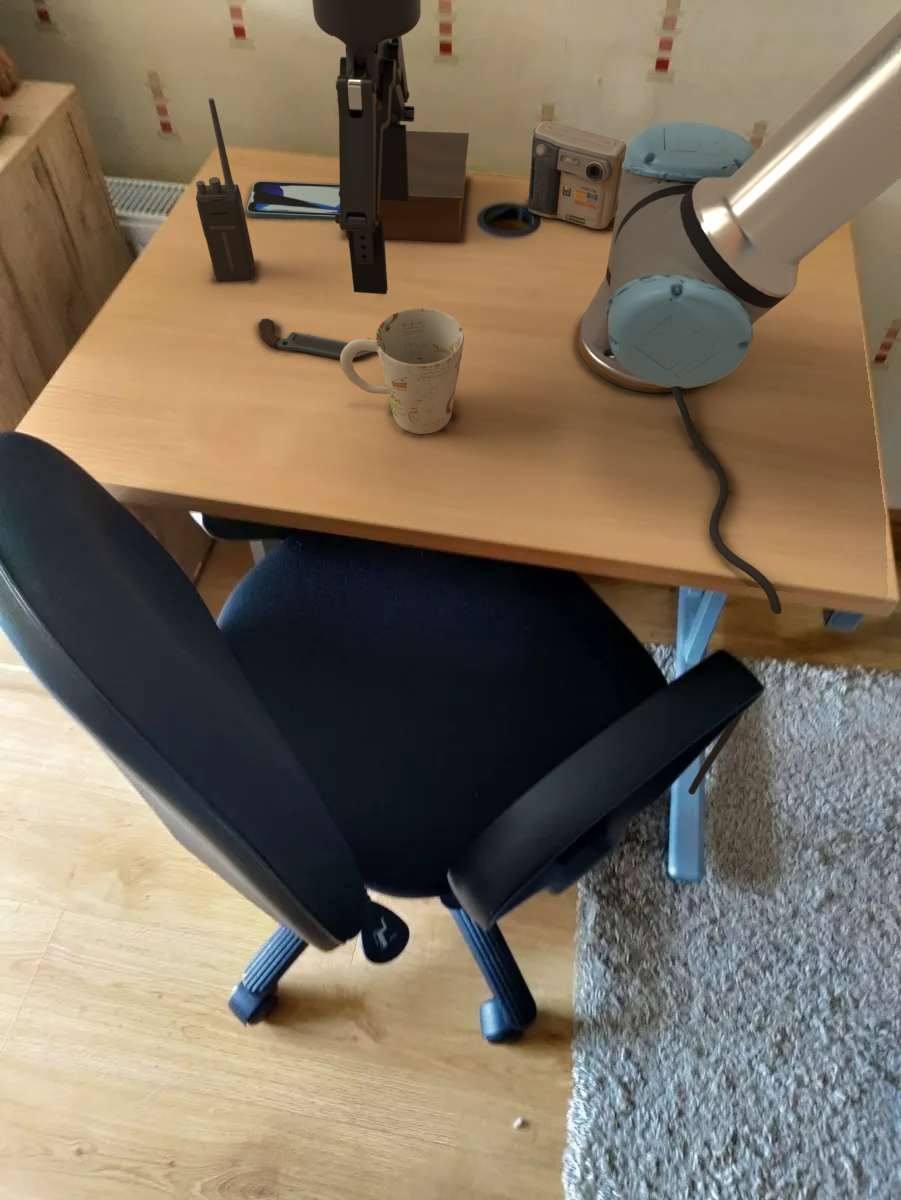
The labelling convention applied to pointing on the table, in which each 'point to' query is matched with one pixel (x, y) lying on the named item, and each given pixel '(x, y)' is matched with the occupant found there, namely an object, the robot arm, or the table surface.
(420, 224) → the stand
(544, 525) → the table surface
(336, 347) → the knife
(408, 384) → the mug
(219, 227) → the walkie-talkie
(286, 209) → the smartphone
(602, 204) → the camera
